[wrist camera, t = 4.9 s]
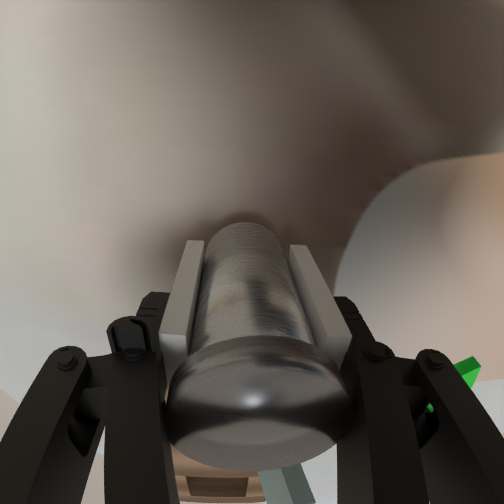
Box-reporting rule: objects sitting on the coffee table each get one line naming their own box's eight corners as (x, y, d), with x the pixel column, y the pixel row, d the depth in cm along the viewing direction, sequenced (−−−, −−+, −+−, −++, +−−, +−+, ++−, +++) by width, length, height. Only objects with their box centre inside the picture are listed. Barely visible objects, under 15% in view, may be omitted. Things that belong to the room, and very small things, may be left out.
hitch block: (145, 309, 21) (125, 368, 15) (286, 314, 22) (303, 373, 16) (175, 458, 30) (172, 500, 24) (259, 459, 31) (264, 501, 25)
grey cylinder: (196, 213, 15) (145, 369, 6) (294, 215, 15) (377, 363, 6) (199, 298, 17) (178, 469, 8) (286, 298, 17) (330, 463, 8)
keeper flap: (256, 392, 16) (295, 506, 10) (273, 389, 17) (316, 500, 10) (249, 445, 19) (276, 534, 12) (263, 443, 19) (292, 531, 13)
